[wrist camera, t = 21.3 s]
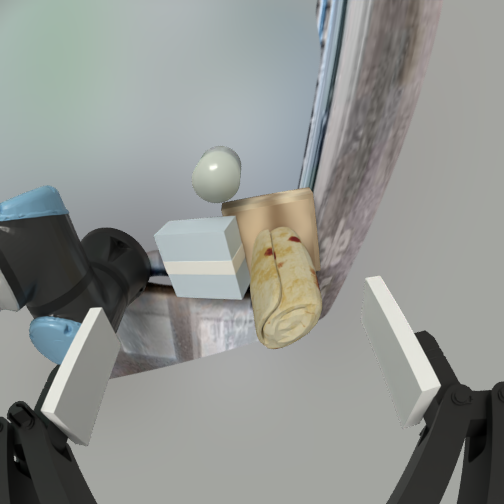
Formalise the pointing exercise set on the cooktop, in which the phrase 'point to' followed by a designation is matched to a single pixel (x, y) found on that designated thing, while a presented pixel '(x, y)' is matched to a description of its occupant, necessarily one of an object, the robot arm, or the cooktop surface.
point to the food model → (283, 288)
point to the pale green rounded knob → (217, 175)
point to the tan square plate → (276, 219)
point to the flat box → (204, 257)
